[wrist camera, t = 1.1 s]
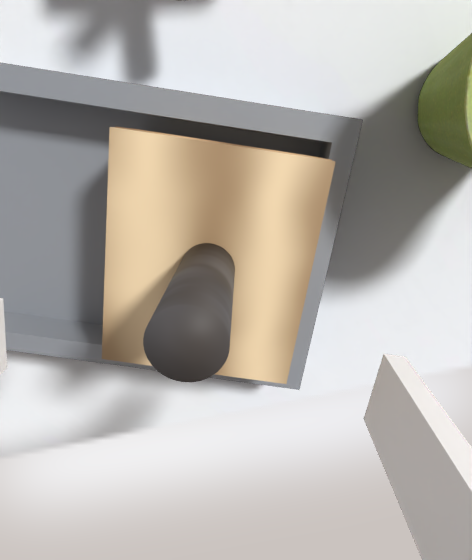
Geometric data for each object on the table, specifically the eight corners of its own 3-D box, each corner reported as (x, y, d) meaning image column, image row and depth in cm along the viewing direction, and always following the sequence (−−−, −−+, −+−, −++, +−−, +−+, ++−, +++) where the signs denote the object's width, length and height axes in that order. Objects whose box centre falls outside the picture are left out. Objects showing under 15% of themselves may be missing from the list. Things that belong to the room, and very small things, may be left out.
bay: (11, 319, 33) (-23, 346, 29) (-2, 68, 27) (-49, 54, 22) (292, 358, 34) (299, 389, 29) (344, 122, 27) (362, 119, 23)
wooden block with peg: (127, 319, 31) (28, 471, 17) (137, 129, 26) (12, 114, 12) (279, 340, 31) (308, 506, 17) (316, 156, 26) (400, 174, 12)
